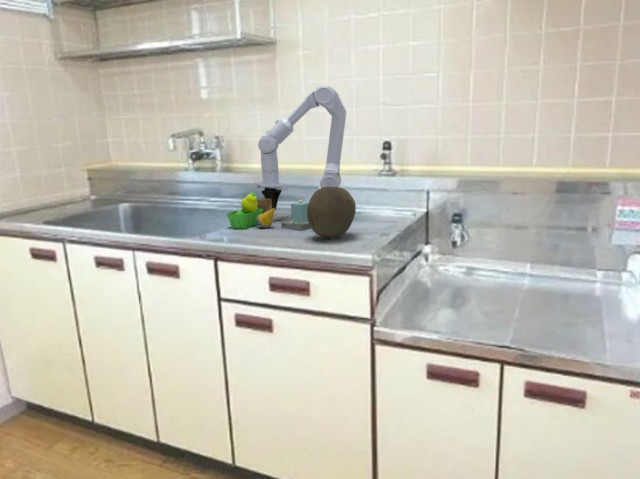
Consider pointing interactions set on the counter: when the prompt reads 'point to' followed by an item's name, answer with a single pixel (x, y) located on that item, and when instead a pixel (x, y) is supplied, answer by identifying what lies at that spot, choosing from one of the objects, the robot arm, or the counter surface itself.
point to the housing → (299, 212)
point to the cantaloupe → (331, 212)
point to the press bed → (296, 225)
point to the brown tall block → (264, 204)
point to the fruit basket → (245, 213)
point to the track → (279, 217)
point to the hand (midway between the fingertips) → (272, 209)
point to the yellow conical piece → (265, 219)
